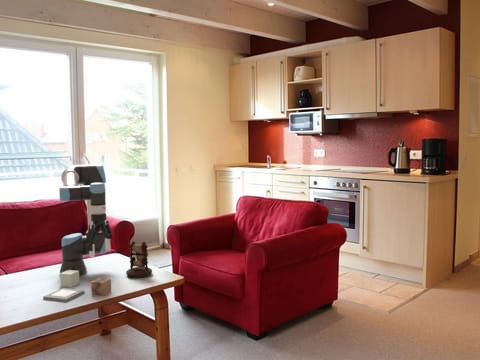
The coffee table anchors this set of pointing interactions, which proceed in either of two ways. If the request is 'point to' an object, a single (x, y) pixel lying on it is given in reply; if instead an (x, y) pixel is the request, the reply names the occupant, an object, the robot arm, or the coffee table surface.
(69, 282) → the sage block
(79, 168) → the robot arm
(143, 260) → the brown upright round-based piece
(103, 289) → the walnut block
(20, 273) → the coffee table surface
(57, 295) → the board
